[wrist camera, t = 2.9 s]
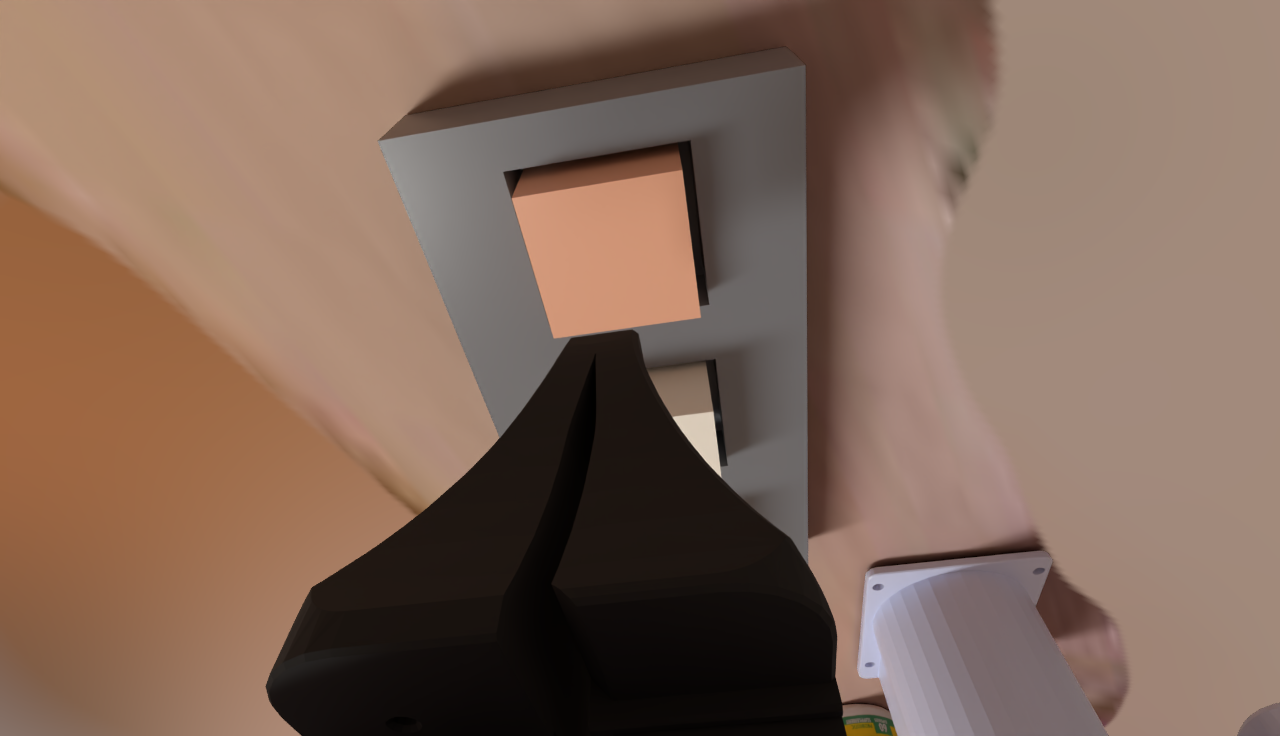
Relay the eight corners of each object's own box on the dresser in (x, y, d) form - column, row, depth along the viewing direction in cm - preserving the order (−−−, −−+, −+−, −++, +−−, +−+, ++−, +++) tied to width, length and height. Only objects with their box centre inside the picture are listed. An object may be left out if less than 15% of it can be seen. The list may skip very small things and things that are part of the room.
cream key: (717, 452, 21) (725, 506, 20) (603, 466, 22) (600, 520, 20) (705, 360, 19) (713, 411, 17) (578, 377, 19) (572, 429, 18)
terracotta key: (694, 274, 18) (700, 317, 16) (562, 293, 19) (553, 338, 17) (676, 137, 16) (682, 169, 14) (526, 163, 16) (511, 198, 14)
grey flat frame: (797, 543, 27) (808, 587, 26) (575, 567, 28) (571, 611, 27) (786, 46, 16) (805, 64, 14) (405, 115, 16) (377, 141, 15)
